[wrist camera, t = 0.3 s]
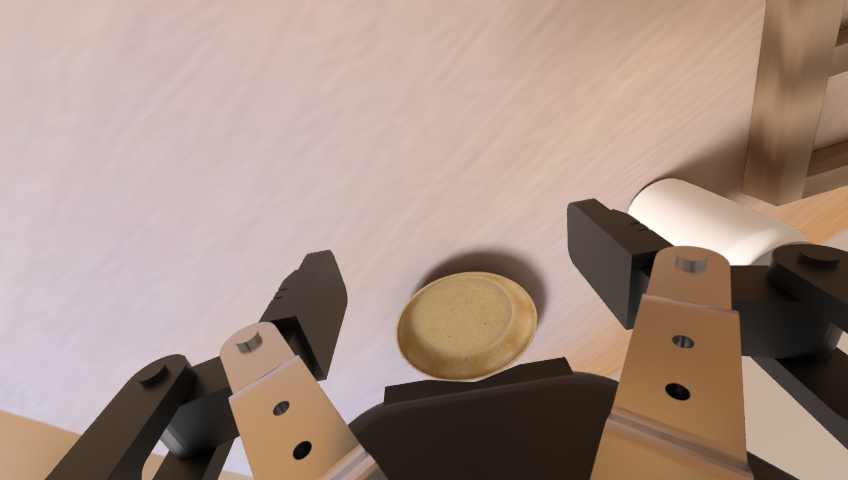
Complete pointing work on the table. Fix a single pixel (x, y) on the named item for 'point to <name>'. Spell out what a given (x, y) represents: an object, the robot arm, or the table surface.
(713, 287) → the robot arm
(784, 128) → the rack
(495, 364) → the plant saucer
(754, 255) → the can
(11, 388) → the table surface
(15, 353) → the table surface
